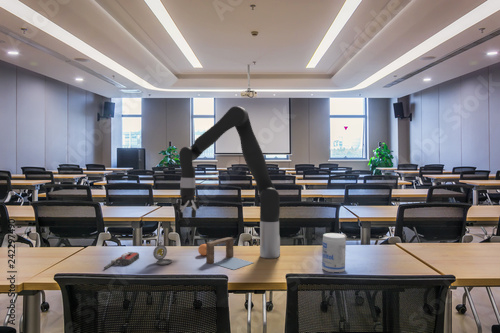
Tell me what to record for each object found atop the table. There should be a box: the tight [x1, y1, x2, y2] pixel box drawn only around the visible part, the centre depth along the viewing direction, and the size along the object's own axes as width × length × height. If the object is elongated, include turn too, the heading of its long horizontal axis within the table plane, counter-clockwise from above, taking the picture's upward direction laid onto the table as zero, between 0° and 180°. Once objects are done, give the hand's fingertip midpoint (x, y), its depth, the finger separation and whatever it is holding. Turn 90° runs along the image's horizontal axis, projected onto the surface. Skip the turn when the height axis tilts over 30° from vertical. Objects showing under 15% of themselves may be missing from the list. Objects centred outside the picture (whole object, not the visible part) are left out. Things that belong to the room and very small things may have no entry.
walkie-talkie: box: [103, 251, 140, 270], centre depth 152 cm, size 9×4×20 cm
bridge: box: [205, 236, 234, 265], centre depth 158 cm, size 3×14×9 cm, turn 139°
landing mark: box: [213, 256, 254, 271], centre depth 152 cm, size 13×13×1 cm
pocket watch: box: [152, 239, 173, 266], centre depth 154 cm, size 8×8×10 cm
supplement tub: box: [321, 232, 347, 273], centre depth 144 cm, size 10×10×15 cm
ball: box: [197, 243, 206, 257], centre depth 165 cm, size 6×6×6 cm
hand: (187, 218), depth 171 cm, fingers open, 8 cm apart
